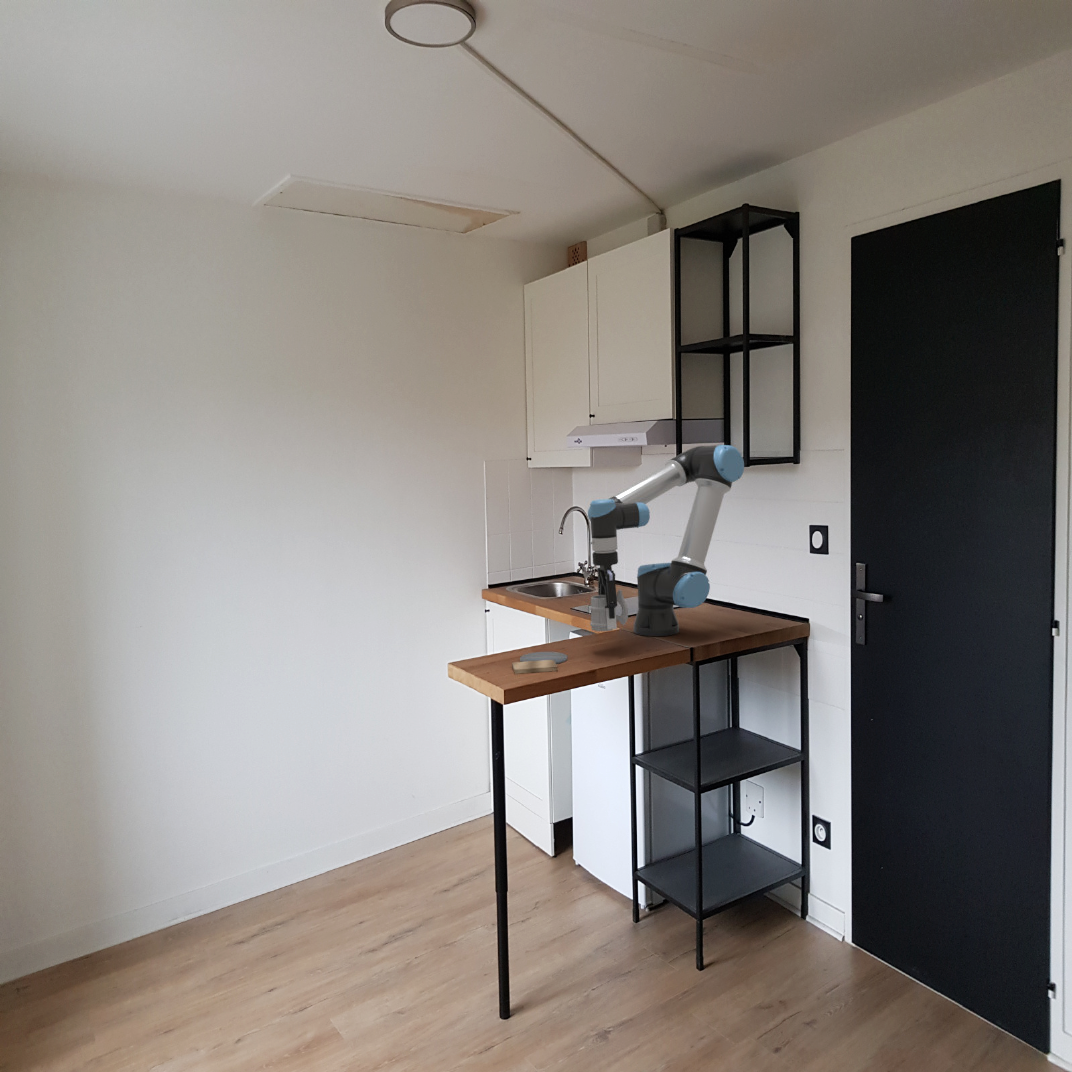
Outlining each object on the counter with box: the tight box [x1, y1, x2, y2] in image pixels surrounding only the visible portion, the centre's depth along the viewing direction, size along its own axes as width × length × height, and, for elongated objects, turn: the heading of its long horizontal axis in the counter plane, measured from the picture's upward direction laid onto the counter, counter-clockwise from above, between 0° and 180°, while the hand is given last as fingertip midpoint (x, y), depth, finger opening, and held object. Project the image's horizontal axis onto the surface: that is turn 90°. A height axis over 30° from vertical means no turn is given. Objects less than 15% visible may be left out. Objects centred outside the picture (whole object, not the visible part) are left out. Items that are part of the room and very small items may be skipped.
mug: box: [589, 589, 629, 632], centre depth 241 cm, size 8×12×12 cm, turn 73°
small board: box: [511, 660, 559, 675], centre depth 227 cm, size 12×8×1 cm, turn 97°
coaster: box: [519, 651, 568, 665], centre depth 237 cm, size 14×14×1 cm
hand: (608, 625), depth 242 cm, fingers closed on mug, 8 cm apart
